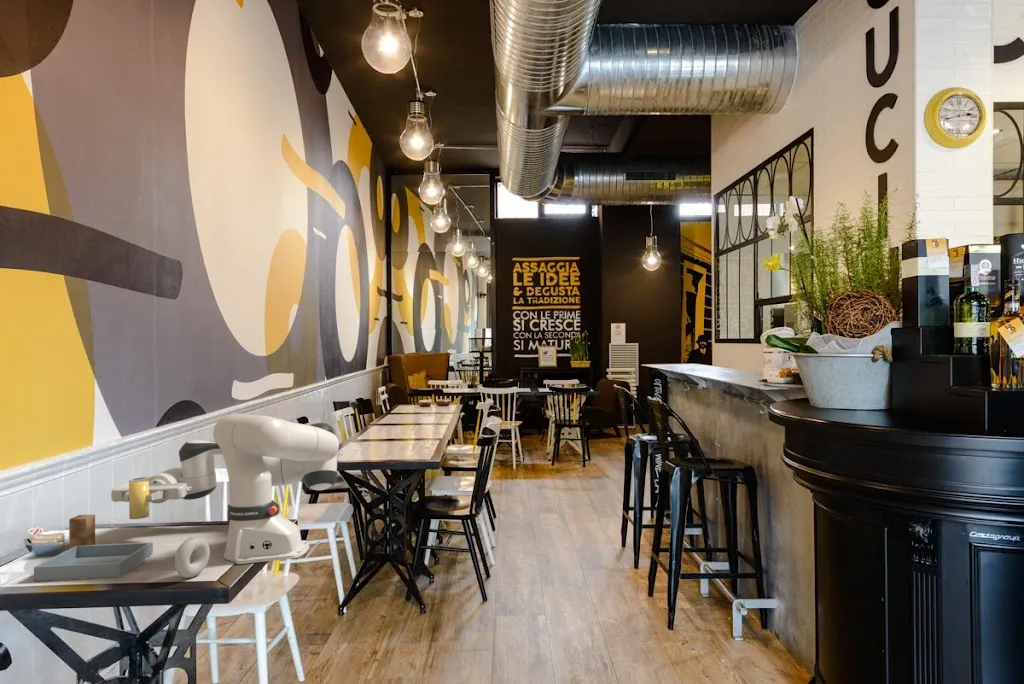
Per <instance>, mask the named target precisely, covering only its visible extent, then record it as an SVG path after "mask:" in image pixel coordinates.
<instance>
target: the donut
mask: <svg viewBox="0 0 1024 684" xmlns="http://www.w3.org/2000/svg"><path fill="white" fill-rule="evenodd" d="M193 552H195V555H194V559H193V561H192V562H191V560H190V559H191V555H192V554H193ZM210 553H211V550H210V545H209V543H208V540H206V539H205V538H204V537H201V536H198V535H197V536H191V537H189V538H187V539H186V540H184V541H183V542H182V543H180V545H179V547H178V548H177V551H176V553H175V557H174V568H175V571H176V573H177V574H178V575H179V576H180V577H182V578H186V579H191V578H195V577H196V576H198V575H200V574H201V573H202V572H203V571H204V570H205V568H206V566H207V564H208V562H209V560H210V556H211V555H210ZM194 576H195V577H194ZM190 577H191V578H190Z"/></svg>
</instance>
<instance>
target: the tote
mask: <svg viewBox="0 0 1024 684" xmlns="http://www.w3.org/2000/svg"><path fill="white" fill-rule="evenodd" d="M153 552H154V544H153V542H152V541H151V542H131V543H130V542H129V543H110V544H109V543H107V544H95V545H80V546H74V547H73V548H71V549H70V548H69V549H67V550H65V551H63V552H61V553H59V554H57V555H55V556H53V557H51V558H49V559H48V560H45V561H43V562H41V563H40V564H38V565H35V566H34V567H33V582H45V581H46V582H48V580H51V581H68V580H67V579H72V580H82V579H81V578H93V579H103V578H102V577H114V578H121V577H122V576H124V575H125V574H126V572H127V573H128V572H130V571H131V570H133V569H134V568H135V567H137V566H139V565H140V564H142V563H143V562H144V561H146V560H147V559H149V558H150V557H152V556H153V555H154V553H153ZM152 554H153V555H152ZM151 555H152V556H151ZM149 556H150V557H149ZM148 557H149V558H148ZM146 558H147V559H146ZM145 559H146V560H145ZM142 561H143V562H142ZM139 563H140V564H139ZM136 565H137V566H136ZM133 567H134V568H133ZM123 574H124V575H123ZM120 576H121V577H120Z"/></svg>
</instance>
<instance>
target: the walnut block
mask: <svg viewBox="0 0 1024 684" xmlns="http://www.w3.org/2000/svg"><path fill="white" fill-rule="evenodd" d="M68 523H69V526H68V527H69V528H68V531H69V549H71V548H73V547H74V546H80V545H96V514H78V515H76V516H73V517H71V518H69V519H68Z"/></svg>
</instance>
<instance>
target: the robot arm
mask: <svg viewBox="0 0 1024 684" xmlns="http://www.w3.org/2000/svg"><path fill="white" fill-rule="evenodd" d="M212 434H213V435H212V436H213V439H214V440H205V439H193V440H189V441H186V442H185V443H184V444H182V445H181V447H180V449H179V451H178V456H179V462H180V467H173V468H172V467H171V468H169V469H166V470H164V471H162V472H159V473H156V474H152V475H149V476H145V477H138V478H131V479H129V481H128V482H125V483H122V484H120V485H118V486H116V487H114V488H112V489H111V492H110V496H111V501H112V503H113V502H114V503H117V502H118V503H119V502H124V503H129V483H131V482H135V481H149V494H148V495H147V501H149V503H152V504H161V503H165V502H167V501H169V500H180V499H182V500H186V501H187V500H189V501H191V500H196V499H201V498H204V497H207V496H208V495H211V494H212V493H213V492H214V491H215V489H217V474H216V473H217V472H216V466H215V456H216V455H220V456H223V460H224V463H225V467H226V471H227V476H228V492H229V493H228V494H229V495H228V497H229V504H228V505H227V514H226V515H227V517H226V518H227V525H228V530H227V532H228V533H227V540H226V544H225V545H226V546H225V549H224V553H223V558H224V559H225V560H227V561H231V562H234V563H235V564H237V565H244V564H253V563H254V564H255V563H265V562H272V561H283V560H292V559H297V558H299V557H302V556H303V555H304V554H306V553H307V552H308V551H309V549H310V542H309V541H308V540H303V539H302V537H301V532H300V528H299V526H298V525H297V524H296V523H294V522H293V521H291V520H289V519H288V518H287V517H285V516H283V514H281V513H280V507H281V502H280V501H279V502H276V501H275V500H273V497H272V496H273V494H272V487H280V486H281V487H282V486H287V485H292V484H298V483H302V484H304V486H305V487H307V488H308V489H309V490H314V491H324V490H328V489H330V488H332V487H334V485H336V484H337V481H338V472H337V469H338V452H339V449H340V441H339V438H338V437H337V436H336V433H335V430H334V428H333V427H332V426H331V425H330V424H329V423H325V422H324V423H323V422H318V423H312V424H306V423H305V424H303V423H299V422H294V421H289V420H285V419H282V418H278V417H274V416H270V415H262V414H252V413H251V414H249V413H233V414H229V415H225V416H224V417H221V418H220V419H219V420H217V422H216V423H215V425H214V427H213V432H212Z"/></svg>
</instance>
